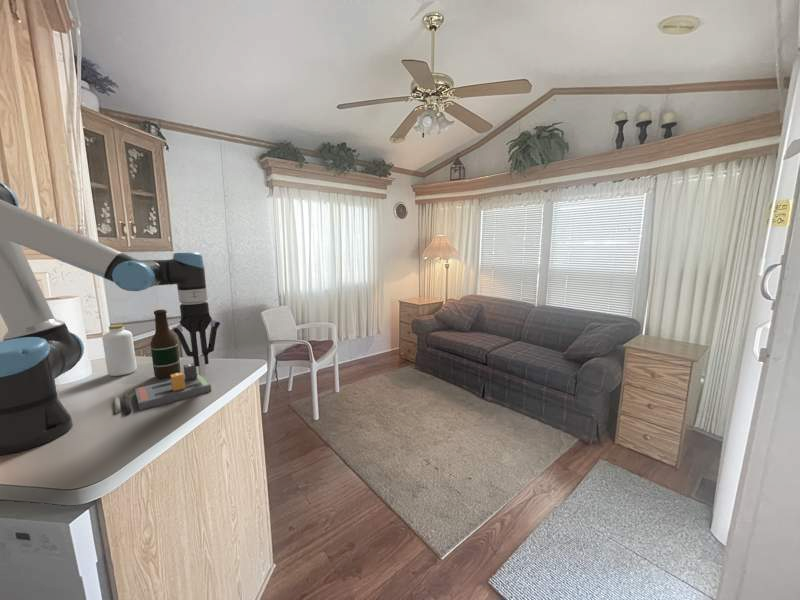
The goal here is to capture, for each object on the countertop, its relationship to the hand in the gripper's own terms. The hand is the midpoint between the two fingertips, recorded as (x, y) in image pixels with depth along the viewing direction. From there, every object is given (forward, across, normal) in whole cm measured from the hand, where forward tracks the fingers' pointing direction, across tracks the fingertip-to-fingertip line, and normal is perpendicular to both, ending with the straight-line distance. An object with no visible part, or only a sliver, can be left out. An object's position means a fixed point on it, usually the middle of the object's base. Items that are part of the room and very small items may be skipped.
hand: (202, 374), depth 105 cm
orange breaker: (+2, -7, 0) cm, 7 cm away
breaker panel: (+5, -8, +4) cm, 10 cm away
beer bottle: (+5, -7, +24) cm, 25 cm away
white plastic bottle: (+5, -19, +39) cm, 43 cm away
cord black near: (+5, -19, +2) cm, 20 cm away
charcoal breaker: (+2, -2, +7) cm, 8 cm away
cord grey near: (+5, -21, +4) cm, 22 cm away
